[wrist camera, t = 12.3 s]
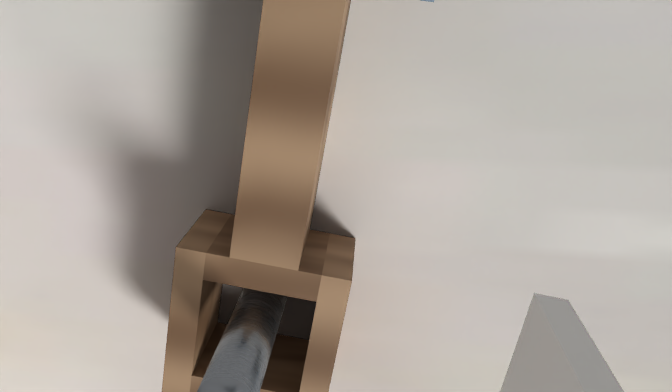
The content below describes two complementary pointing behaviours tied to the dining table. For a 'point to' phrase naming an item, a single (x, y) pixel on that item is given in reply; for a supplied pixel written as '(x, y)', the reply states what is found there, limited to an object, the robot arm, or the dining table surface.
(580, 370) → the robot arm
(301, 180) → the link
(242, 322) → the pintle
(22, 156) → the dining table surface
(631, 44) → the dining table surface
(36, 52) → the dining table surface
